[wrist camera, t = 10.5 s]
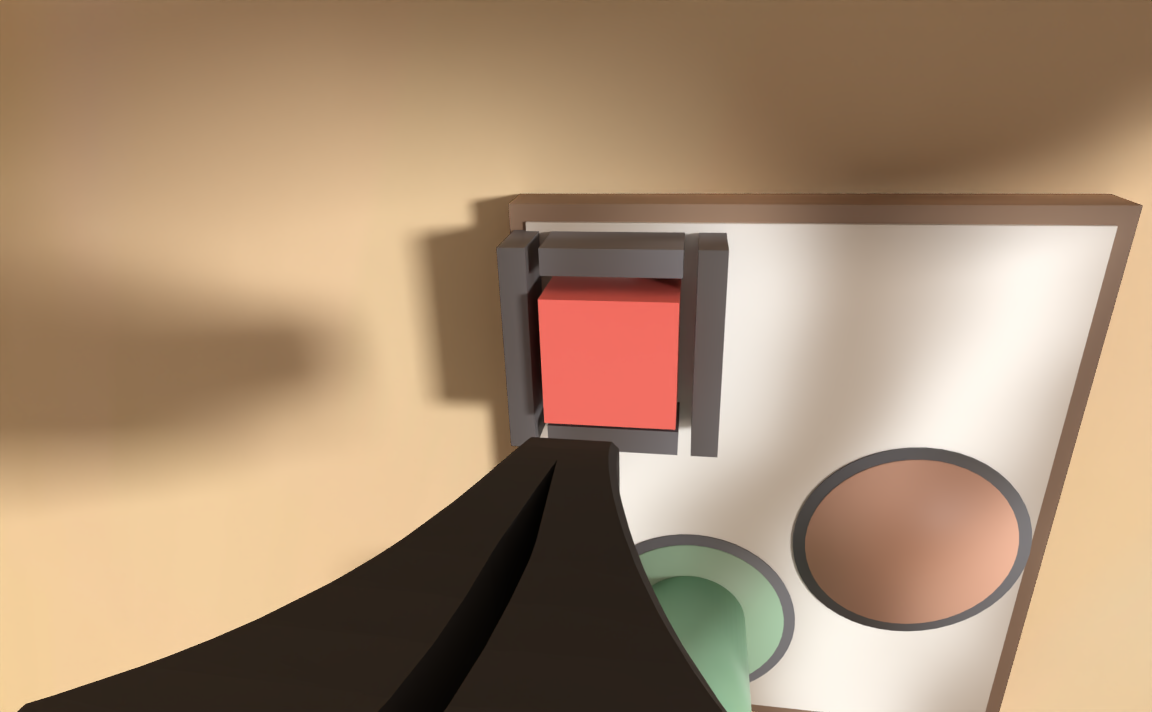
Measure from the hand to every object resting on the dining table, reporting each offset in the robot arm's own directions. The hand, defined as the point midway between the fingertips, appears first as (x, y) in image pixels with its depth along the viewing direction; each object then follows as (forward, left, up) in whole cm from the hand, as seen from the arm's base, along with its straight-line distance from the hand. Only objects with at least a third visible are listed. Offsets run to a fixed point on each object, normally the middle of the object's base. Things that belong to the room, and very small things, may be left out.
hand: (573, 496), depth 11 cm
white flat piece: (-4, +5, -8) cm, 10 cm away
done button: (0, 0, -7) cm, 7 cm away
